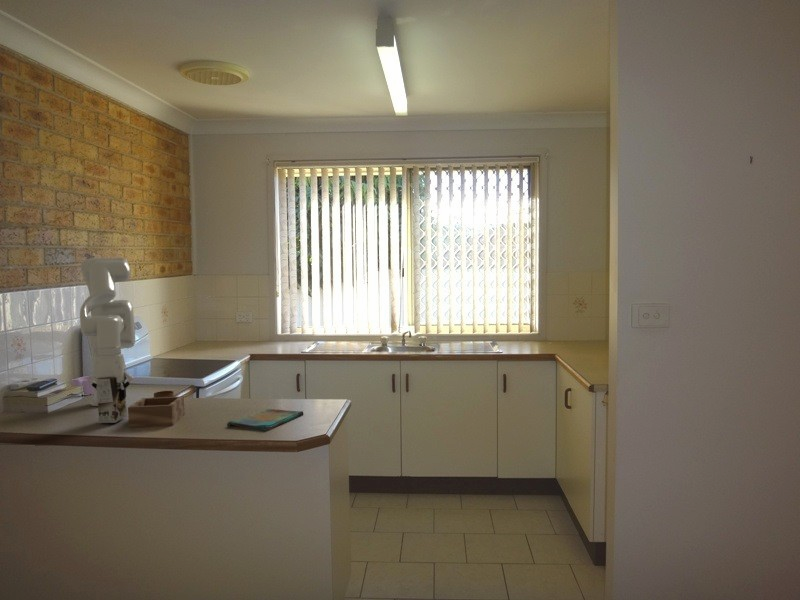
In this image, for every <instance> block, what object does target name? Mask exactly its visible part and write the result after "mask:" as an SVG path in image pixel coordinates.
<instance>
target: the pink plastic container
mask: <svg viewBox="0 0 800 600" xmlns="http://www.w3.org/2000/svg"><path fill="white" fill-rule="evenodd" d="M91 376H92V375H87V376H79V377H77V378H75V379H74V378H72V379H71V380H70V381H71V382H70V383H71V384H70V385H71V388H72V387H73V386H83V392H84V394H94V387H93V386H92V385H91V384H90V383H89V382H88V379H89V378H90V377H91Z"/></svg>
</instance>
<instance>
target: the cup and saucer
mask: <svg viewBox="0 0 800 600" xmlns="http://www.w3.org/2000/svg"><path fill="white" fill-rule="evenodd" d="M174 394H175V393H174V391H173V390H161V391H156V392H154V393H153V397H152V398H158V397H175V395H174Z"/></svg>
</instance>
